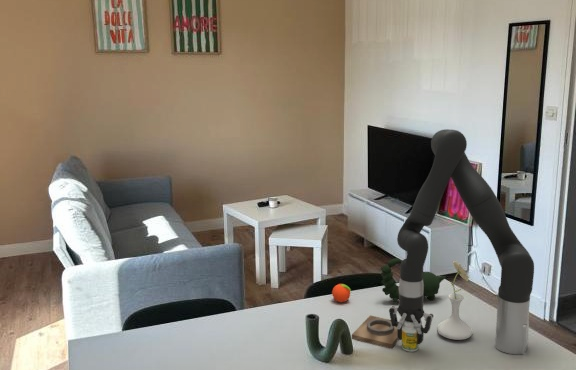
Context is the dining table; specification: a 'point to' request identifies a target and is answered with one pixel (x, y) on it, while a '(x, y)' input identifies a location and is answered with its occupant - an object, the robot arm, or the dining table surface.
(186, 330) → the dining table surface
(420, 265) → the robot arm
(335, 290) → the clementine
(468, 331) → the flower in vase
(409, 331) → the supplement bottle
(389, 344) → the collar board
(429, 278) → the toy figurine
